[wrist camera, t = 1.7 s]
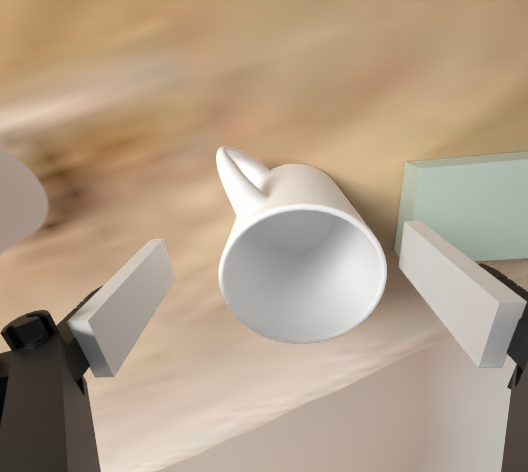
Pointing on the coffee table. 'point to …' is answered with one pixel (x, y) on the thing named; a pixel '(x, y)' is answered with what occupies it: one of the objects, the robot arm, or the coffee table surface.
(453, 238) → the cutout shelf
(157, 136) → the coffee table surface
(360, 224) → the mug
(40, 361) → the robot arm
